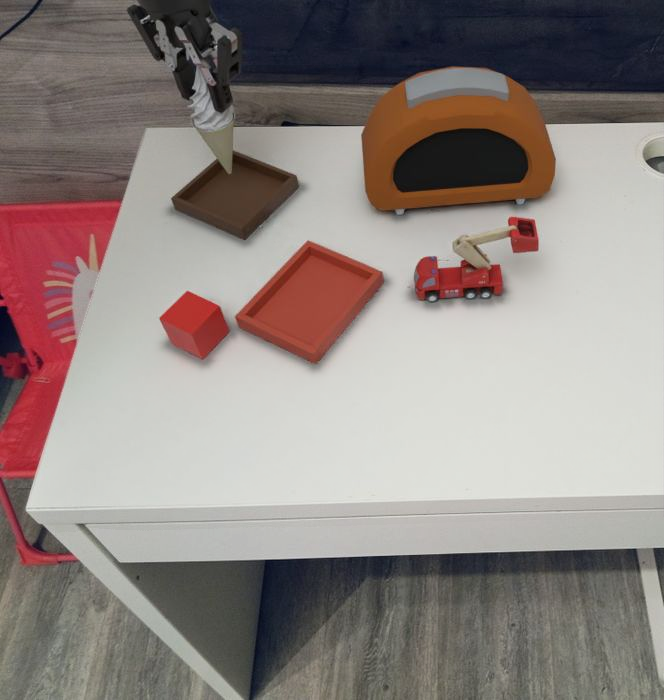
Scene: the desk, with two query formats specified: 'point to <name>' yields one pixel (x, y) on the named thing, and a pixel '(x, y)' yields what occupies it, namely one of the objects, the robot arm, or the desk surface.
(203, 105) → the ice cream cone
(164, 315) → the red block
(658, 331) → the desk surface
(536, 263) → the desk surface
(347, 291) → the red tray
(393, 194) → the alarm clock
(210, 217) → the brown tray
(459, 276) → the toy fire truck
